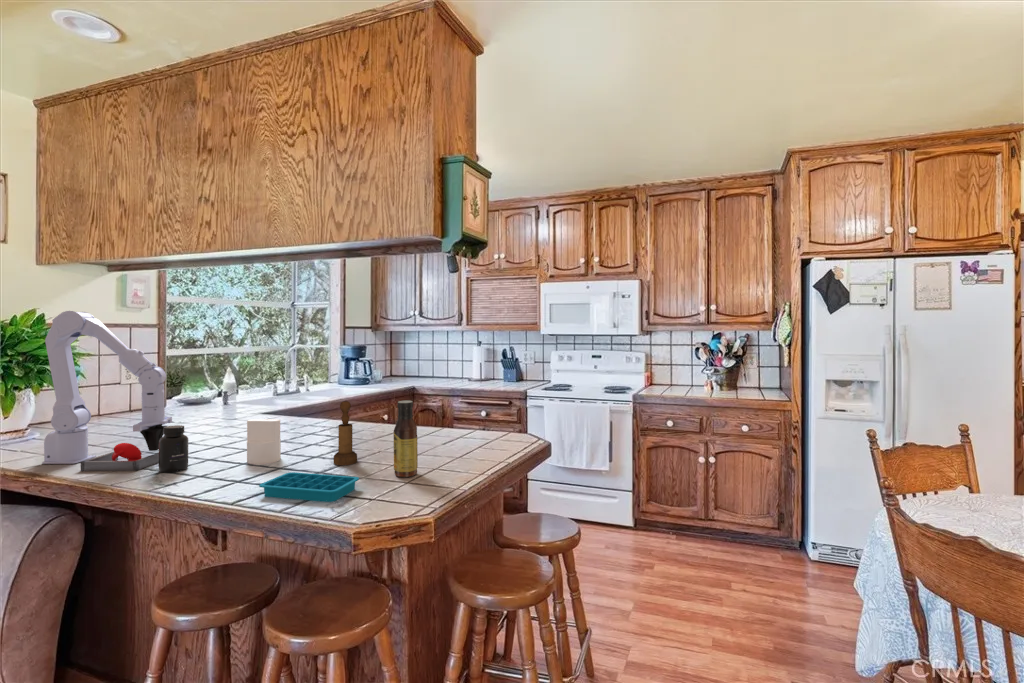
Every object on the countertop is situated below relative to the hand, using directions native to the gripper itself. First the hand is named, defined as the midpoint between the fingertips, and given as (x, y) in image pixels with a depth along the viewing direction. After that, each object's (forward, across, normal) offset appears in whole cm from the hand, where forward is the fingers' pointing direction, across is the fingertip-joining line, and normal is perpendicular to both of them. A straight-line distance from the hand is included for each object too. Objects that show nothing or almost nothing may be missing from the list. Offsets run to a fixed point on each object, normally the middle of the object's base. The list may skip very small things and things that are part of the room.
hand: (153, 450), depth 154 cm
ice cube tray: (+2, -37, -62) cm, 72 cm away
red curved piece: (+2, -10, 0) cm, 11 cm away
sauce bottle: (+2, -22, -82) cm, 85 cm away
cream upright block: (+2, -7, -37) cm, 38 cm away
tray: (+1, -11, 0) cm, 11 cm away
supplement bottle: (+2, -17, -17) cm, 24 cm away
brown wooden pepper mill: (+2, -10, -62) cm, 63 cm away
